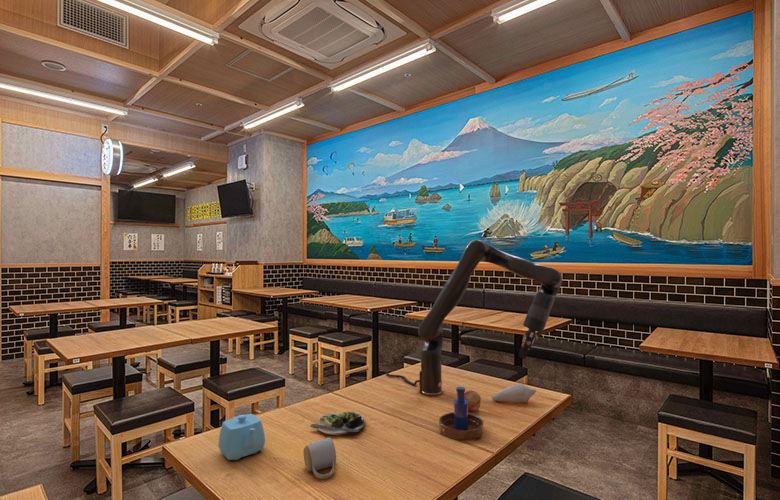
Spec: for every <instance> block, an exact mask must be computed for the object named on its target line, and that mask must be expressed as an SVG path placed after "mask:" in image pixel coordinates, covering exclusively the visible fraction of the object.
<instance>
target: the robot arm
mask: <svg viewBox="0 0 780 500" xmlns="http://www.w3.org/2000/svg"><path fill="white" fill-rule="evenodd" d="M480 262H483V263H488V264H493V265H495V266H498V267H501V268H503V269H504V270H507V271H508V272H510V273H512V274H515V275H517V276H519V277H521V278H524V279H527V280H530V281H534V282H535V281H536V282H538V283H540V286H539V289H538V291H537V292H536V293H535V295H534V297H533V300H532V303H531V305H530V307H529V309H528V311H527V313H526V316H525V319H524V321H523V324H522V325H523V326H524V327H525V328H527V330H526V331H525V332H524V333H523V337H522V340H521V347H520V349H519V352H518V356H519V358H520V359H523V360H526V358H527V356H528V353H529V351H530V350H531V348H532V346H533V344H534V341H535V340H536V335H537V334H536V332H537V333H539V334H542V333H544V330H545V327H546V324H547V322H548V320H549V317H550V313H551V311H552V307H553V305H554V303H555V299H556V296H557V295H558V293H559V291H560V289H561V286H562V284H563V276H562V274H561V272H560V271H559V270H557V269H555V268H553V267H550V266H547V265H542V264H538V263H536V262H533V261H531V260H528V259H525V258H522V257H521V256H520V257H519V256H516V255H513V254H511V253H508V252H504V251H502V250H500V249H498V248H496V247H494V246H493V245H491V244H489V243H487V242H486V241H485V240H480V239H473V240H470V241H469V242H468V243H467V244H466V246H465V248H464V250H463V252H462V255H461V257H460V259H459V261H458V263H457V265H456V266H455V268H454V269H453V270H452V272H451V274H450V275H449V277H448V279H447V281H445V284H444V285H443V287H442V288H441V290H440V292H439V294H438V296H437V297H436V299H435V301H434V303H433V304H432V307H431V308H430V311H429V312H428V313H426V315H425V317H424V318H423V320H422V321H421V322H420V323H419V325H418V328H417V333H418V336H419V338H420V339H421V340H422V341H423V343H422V346H421V348H420V371H419V379H418V380H417V379H416V380H415V381H414V382H411V381H410V380H409V379H407V378H406V377H405V376H403V375H400V374H391V373H389V372H388V371H387V370H383V371H382V372H381V373H382V374H384V373H385V374H386V375H387V376H389V377H393V378H401V379H403V380H404V381H405V382H406V383H407V384H409V385H411V386H417V384H419V393H420V394H423V395H425V396H429V397H430V396H431V397H434V396H440V395H442V393H443V387H442V386H443V381H442V349H443V346H444V345H443V344H444V342H443V340H444V339H443V338H444V337H443V336H444V331H443V326H442V324H443V322H444V320H445V319H446V318H447V316H449V314H450V313H451V312H452V311H453V310H454V309H455V308H456V306H458V304H459V303H460V301H461V300H462V298H463V296H464V295H465V293H466V292H467V289H468V286H469V283H470V279H471V276H472V274H473V272H474V270H475V269H476V268H477V266H478V265H479V264H480Z"/></svg>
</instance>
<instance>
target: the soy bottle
mask: <svg viewBox="0 0 780 500" xmlns="http://www.w3.org/2000/svg"><path fill="white" fill-rule="evenodd" d="M455 391H456V399H454V400H453V412H454V429H457V430H468V413H469V411H468V401H467V400H465V394H464V393H465V392H466V388H465V387H464V386H456V389H455Z"/></svg>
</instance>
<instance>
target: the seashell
mask: <svg viewBox="0 0 780 500" xmlns="http://www.w3.org/2000/svg"><path fill="white" fill-rule="evenodd" d="M536 393H537V389H535V388H531V387H529V386H526V385H524V384H523V383H515V384H512V385H510V386H507V387H505V388H502V389H500V390H499V391H498V392H496V393H494V394H492V395H491V400H492V401H495V402H502V403H512V404H513V403H515V404H516V403H517V404H519V403H527V402H528V401H530V399H531V398H532V397H533V395H534V394H536Z"/></svg>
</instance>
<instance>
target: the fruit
mask: <svg viewBox="0 0 780 500" xmlns="http://www.w3.org/2000/svg"><path fill="white" fill-rule="evenodd" d="M464 394H465V400H467V401H468V412H469V413H474V412H477V411H478V410H479V409H480V407H481V401H482V399H481V398H482V397H481V395H480V394H479V393H478V392H477V391H476V390H475V391H474V390H467V391H465V392H464Z"/></svg>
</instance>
